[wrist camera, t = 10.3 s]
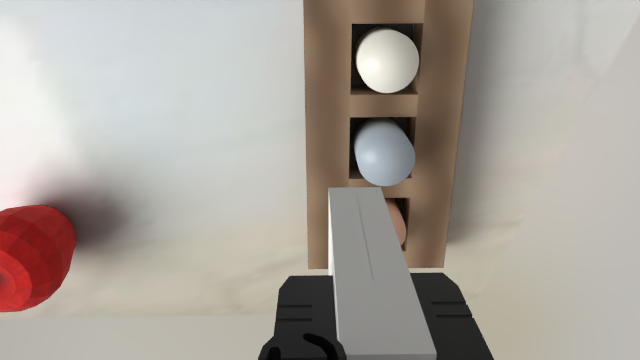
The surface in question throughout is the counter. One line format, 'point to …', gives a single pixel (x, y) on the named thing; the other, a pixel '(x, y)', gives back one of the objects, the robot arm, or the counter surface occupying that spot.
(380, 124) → the button slate
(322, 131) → the console
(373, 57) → the button cream
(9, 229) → the apple
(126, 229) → the counter surface
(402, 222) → the button terracotta
